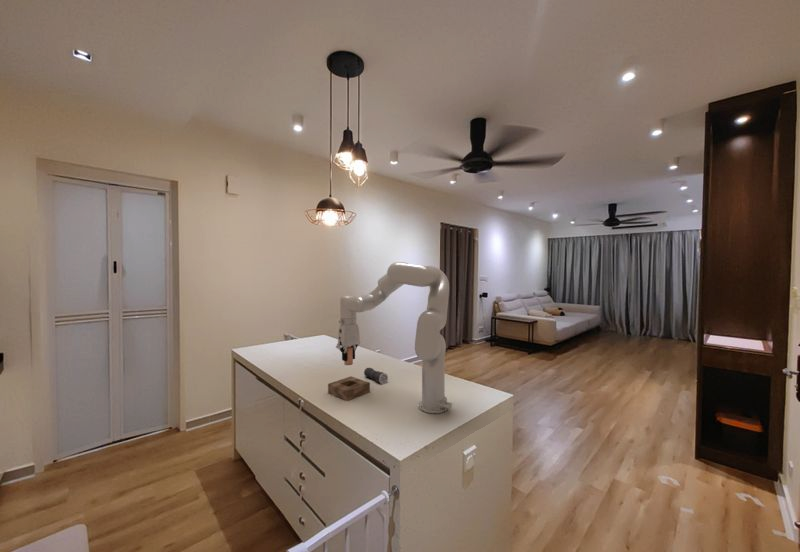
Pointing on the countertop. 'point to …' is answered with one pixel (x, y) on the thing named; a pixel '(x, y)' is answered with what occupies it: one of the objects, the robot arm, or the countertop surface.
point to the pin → (349, 356)
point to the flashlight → (376, 375)
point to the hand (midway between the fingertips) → (348, 359)
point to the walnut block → (348, 388)
